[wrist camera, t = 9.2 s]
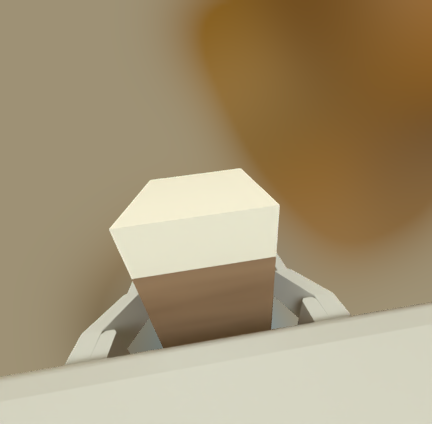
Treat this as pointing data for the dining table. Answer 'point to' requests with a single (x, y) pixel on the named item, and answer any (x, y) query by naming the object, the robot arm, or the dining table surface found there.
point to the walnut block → (202, 255)
